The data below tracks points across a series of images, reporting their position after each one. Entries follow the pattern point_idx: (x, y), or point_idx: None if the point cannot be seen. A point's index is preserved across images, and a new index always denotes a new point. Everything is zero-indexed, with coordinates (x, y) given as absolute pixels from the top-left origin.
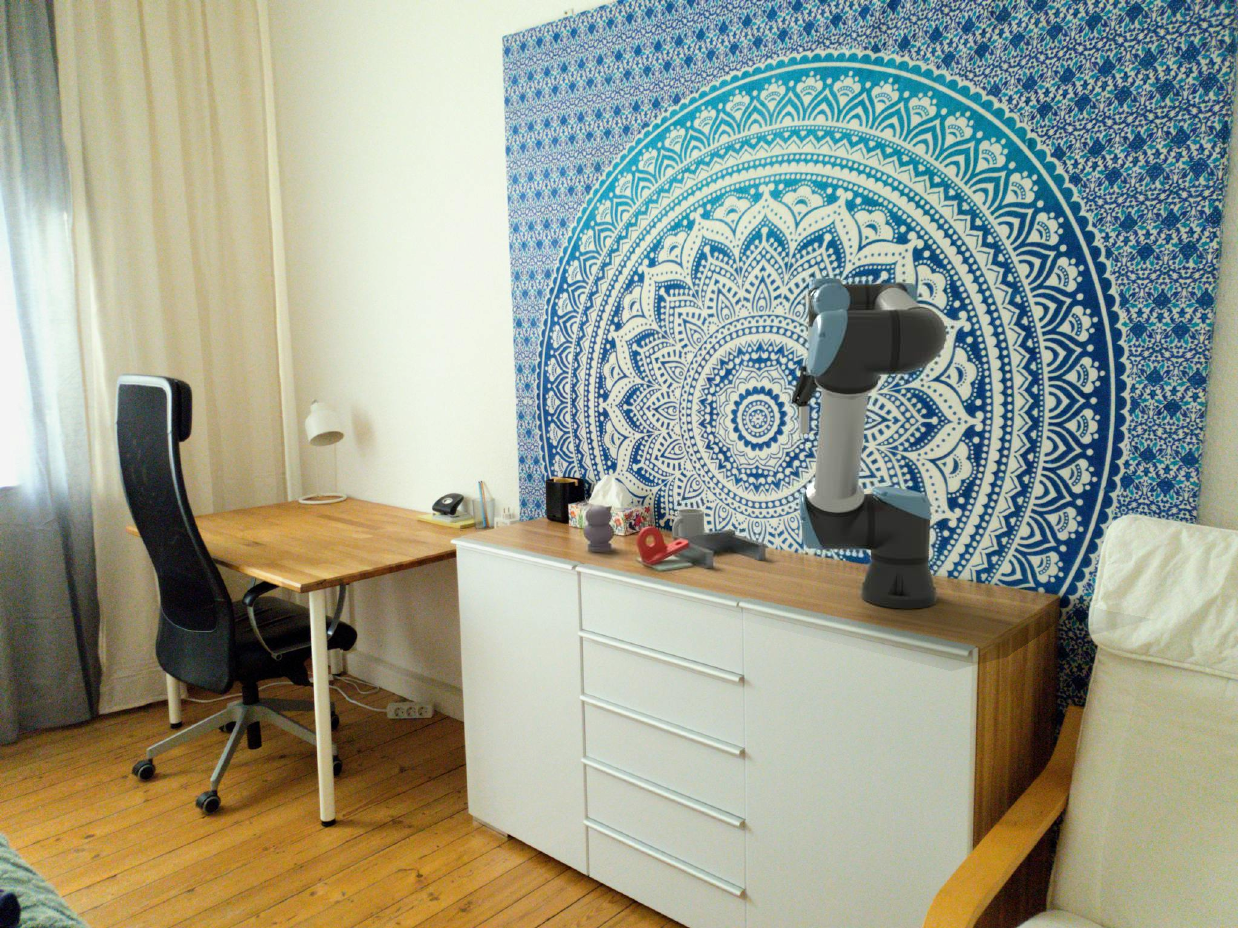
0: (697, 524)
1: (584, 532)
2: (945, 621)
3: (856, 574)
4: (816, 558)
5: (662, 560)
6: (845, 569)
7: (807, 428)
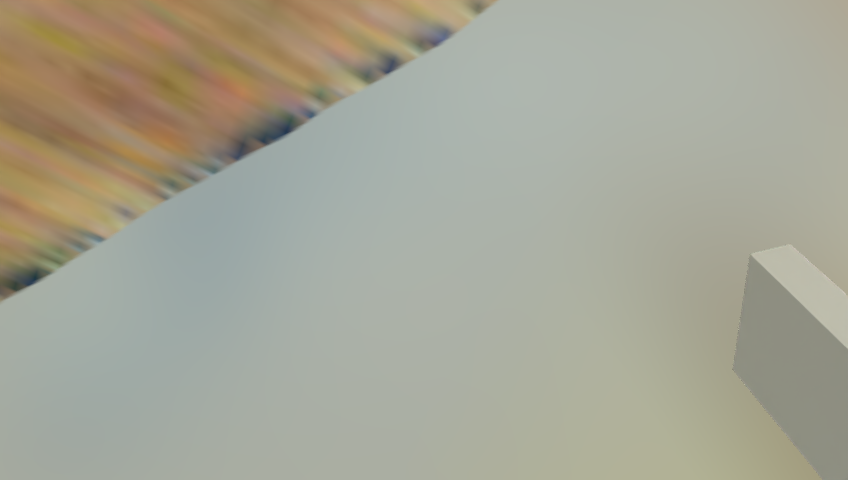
0: None
1: None
2: None
3: (56, 23)
4: (393, 9)
5: None
6: (160, 25)
7: (771, 391)
